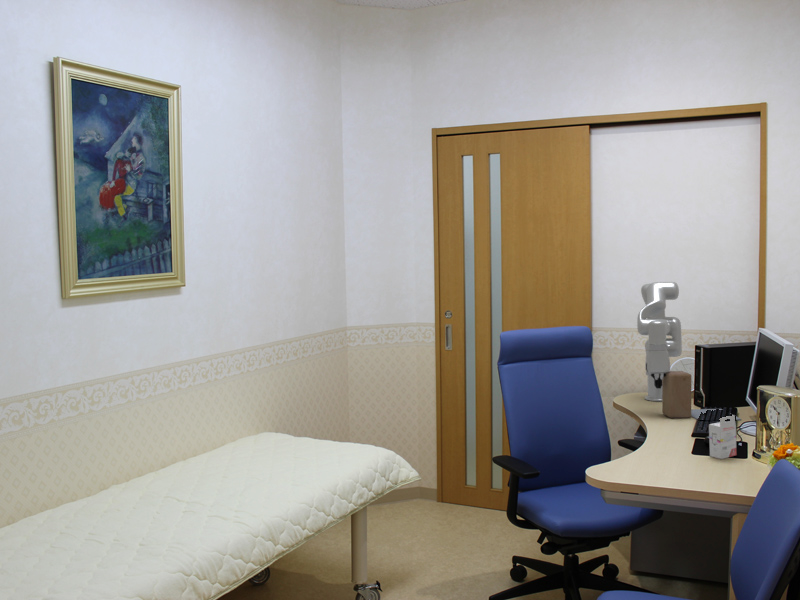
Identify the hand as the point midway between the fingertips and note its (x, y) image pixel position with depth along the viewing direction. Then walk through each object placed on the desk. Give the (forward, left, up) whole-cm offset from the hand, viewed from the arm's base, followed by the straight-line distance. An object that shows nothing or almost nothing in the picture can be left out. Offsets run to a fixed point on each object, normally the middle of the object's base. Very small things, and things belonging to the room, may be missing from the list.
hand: (658, 387), depth 305 cm
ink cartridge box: (+66, +2, -13) cm, 67 cm away
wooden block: (0, +8, -13) cm, 15 cm away
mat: (0, +23, -13) cm, 26 cm away
